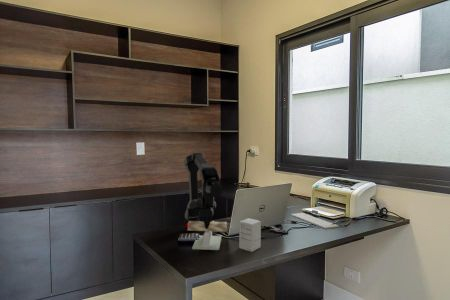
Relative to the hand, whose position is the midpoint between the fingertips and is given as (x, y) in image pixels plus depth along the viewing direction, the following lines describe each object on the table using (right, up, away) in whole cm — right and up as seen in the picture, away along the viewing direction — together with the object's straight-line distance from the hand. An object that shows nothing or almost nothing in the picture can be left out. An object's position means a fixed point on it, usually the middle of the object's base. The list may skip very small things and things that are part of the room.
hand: (207, 225), depth 149 cm
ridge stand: (0, -9, 0) cm, 8 cm away
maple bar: (0, -2, 0) cm, 2 cm away
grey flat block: (+63, -8, +41) cm, 76 cm away
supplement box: (+20, -9, -5) cm, 22 cm away
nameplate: (+34, -8, +27) cm, 44 cm away
